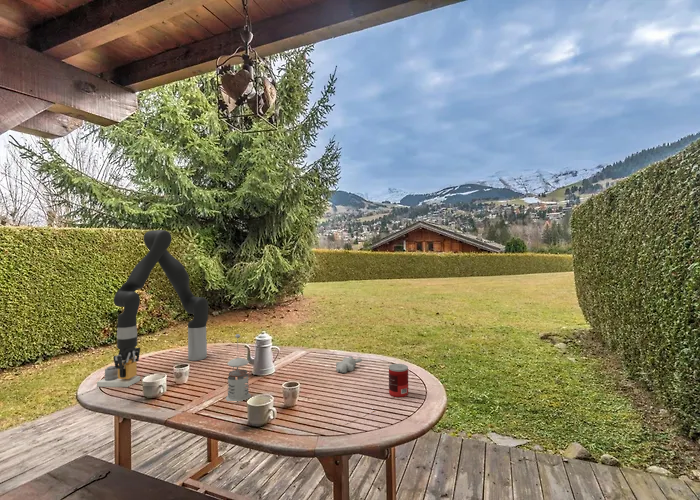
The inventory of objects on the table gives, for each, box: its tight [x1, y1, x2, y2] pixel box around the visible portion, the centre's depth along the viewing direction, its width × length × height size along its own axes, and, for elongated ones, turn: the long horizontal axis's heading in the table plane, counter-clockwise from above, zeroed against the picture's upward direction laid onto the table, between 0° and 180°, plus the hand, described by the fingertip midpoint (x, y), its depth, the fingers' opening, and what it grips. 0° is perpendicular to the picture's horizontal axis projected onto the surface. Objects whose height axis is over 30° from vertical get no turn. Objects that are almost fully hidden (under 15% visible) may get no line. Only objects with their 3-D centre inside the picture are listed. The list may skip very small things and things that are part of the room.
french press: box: [225, 333, 252, 402], centre depth 140 cm, size 10×12×25 cm
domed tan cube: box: [118, 360, 138, 379], centre depth 155 cm, size 5×5×7 cm
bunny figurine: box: [335, 355, 363, 374], centre depth 171 cm, size 10×5×15 cm
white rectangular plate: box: [96, 375, 141, 388], centre depth 155 cm, size 8×14×2 cm, turn 86°
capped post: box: [104, 365, 118, 381], centre depth 155 cm, size 5×5×5 cm
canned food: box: [388, 363, 409, 398], centre depth 140 cm, size 8×8×11 cm
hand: (127, 374), depth 155 cm, fingers closed on domed tan cube, 5 cm apart
